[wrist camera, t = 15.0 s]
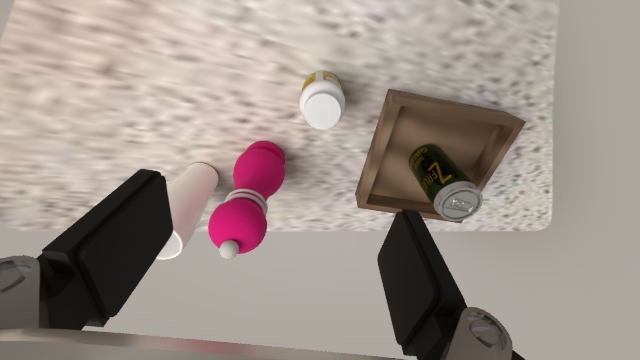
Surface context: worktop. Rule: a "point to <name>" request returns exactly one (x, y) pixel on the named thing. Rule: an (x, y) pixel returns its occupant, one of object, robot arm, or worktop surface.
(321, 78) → the supplement bottle
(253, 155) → the pepper mill
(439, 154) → the beer can
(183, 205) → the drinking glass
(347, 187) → the worktop surface
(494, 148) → the box
